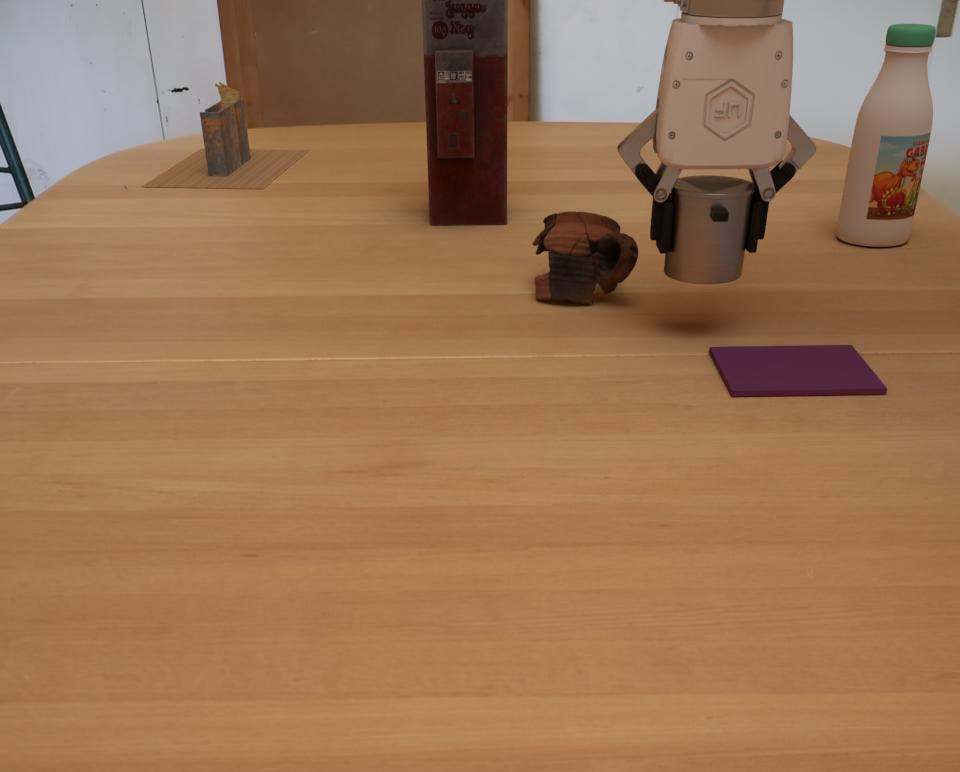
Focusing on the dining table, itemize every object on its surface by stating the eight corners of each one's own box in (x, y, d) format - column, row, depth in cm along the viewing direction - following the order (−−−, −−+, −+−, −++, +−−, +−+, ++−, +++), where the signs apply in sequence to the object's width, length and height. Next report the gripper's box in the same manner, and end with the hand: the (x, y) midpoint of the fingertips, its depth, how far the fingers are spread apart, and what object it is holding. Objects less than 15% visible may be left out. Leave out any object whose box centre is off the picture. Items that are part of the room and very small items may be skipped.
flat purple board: (850, 350, 95) (851, 344, 95) (886, 394, 87) (887, 388, 87) (708, 352, 95) (709, 346, 94) (731, 396, 87) (732, 390, 86)
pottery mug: (505, 301, 108) (515, 212, 107) (566, 325, 115) (576, 242, 114) (605, 291, 100) (618, 195, 99) (664, 318, 107) (676, 228, 106)
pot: (731, 257, 100) (742, 171, 96) (754, 289, 92) (767, 197, 88) (654, 257, 100) (662, 172, 96) (670, 290, 92) (679, 198, 88)
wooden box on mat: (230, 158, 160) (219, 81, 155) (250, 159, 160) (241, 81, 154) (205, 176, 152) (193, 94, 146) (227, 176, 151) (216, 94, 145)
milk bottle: (832, 245, 121) (869, 28, 109) (837, 228, 127) (873, 20, 115) (907, 251, 119) (954, 30, 107) (909, 233, 125) (953, 22, 113)
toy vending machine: (428, 230, 128) (417, -71, 111) (432, 206, 137) (423, -76, 120) (507, 229, 128) (508, -72, 111) (506, 205, 136) (507, -77, 120)
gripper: (623, 4, 81) (607, 262, 92) (862, 3, 81) (818, 260, 92) (612, -5, 87) (598, 238, 98) (835, -7, 87) (796, 236, 98)
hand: (705, 247), depth 95 cm, fingers closed on pot, 6 cm apart
